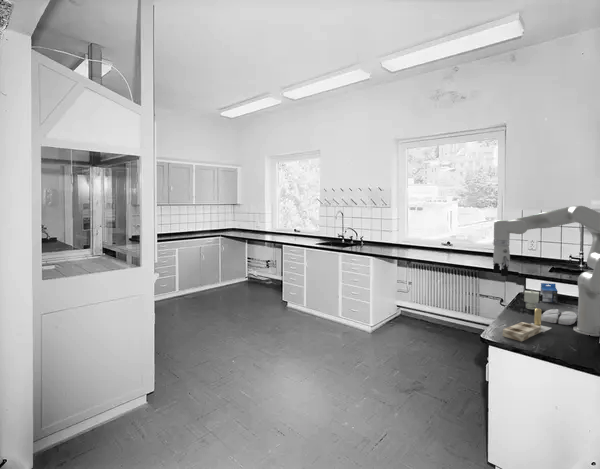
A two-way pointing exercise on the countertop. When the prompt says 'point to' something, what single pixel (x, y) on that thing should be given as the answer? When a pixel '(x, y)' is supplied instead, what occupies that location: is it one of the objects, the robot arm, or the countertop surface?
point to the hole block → (521, 331)
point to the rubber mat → (544, 328)
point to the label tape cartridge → (549, 292)
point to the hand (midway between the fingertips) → (500, 274)
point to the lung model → (565, 317)
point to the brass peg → (537, 317)
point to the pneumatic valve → (531, 298)
